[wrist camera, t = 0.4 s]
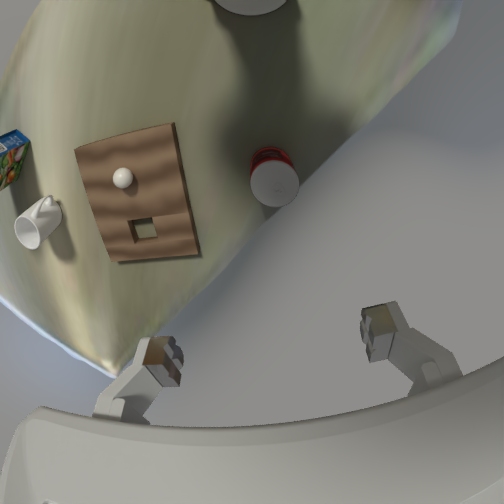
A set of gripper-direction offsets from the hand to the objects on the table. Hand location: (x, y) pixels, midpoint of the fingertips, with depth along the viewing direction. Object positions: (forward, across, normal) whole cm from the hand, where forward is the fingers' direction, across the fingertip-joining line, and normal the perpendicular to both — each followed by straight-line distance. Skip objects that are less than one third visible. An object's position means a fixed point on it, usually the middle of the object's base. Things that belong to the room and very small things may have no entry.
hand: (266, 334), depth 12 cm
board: (+46, +26, +7) cm, 53 cm away
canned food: (+46, -2, +7) cm, 46 cm away
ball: (+41, +26, +1) cm, 49 cm away
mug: (+46, +51, +3) cm, 69 cm away
